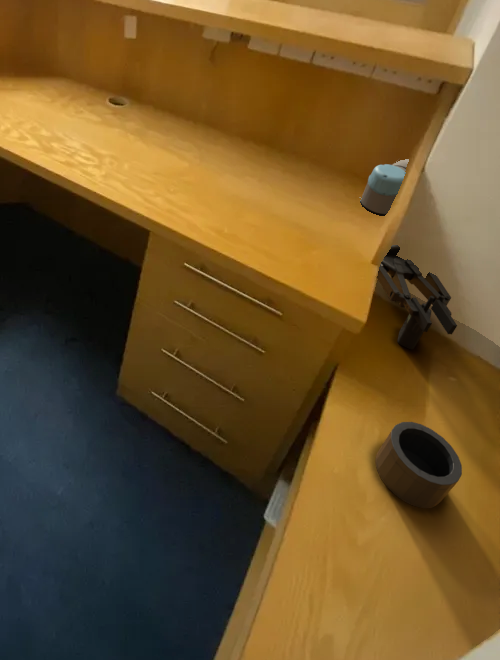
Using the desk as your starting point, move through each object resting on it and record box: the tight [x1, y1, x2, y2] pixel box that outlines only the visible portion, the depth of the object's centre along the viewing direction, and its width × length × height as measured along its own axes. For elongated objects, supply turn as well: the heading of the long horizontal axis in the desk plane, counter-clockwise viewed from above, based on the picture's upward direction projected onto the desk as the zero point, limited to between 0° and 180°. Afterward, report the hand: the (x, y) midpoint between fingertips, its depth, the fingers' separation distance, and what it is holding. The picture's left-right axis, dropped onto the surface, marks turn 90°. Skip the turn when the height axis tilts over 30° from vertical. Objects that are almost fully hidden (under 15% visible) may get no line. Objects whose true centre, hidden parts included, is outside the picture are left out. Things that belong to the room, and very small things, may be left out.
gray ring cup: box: [375, 421, 463, 509], centre depth 87 cm, size 10×10×8 cm
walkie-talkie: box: [397, 296, 435, 350], centre depth 108 cm, size 5×3×15 cm
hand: (439, 328), depth 102 cm, fingers closed on walkie-talkie, 4 cm apart
